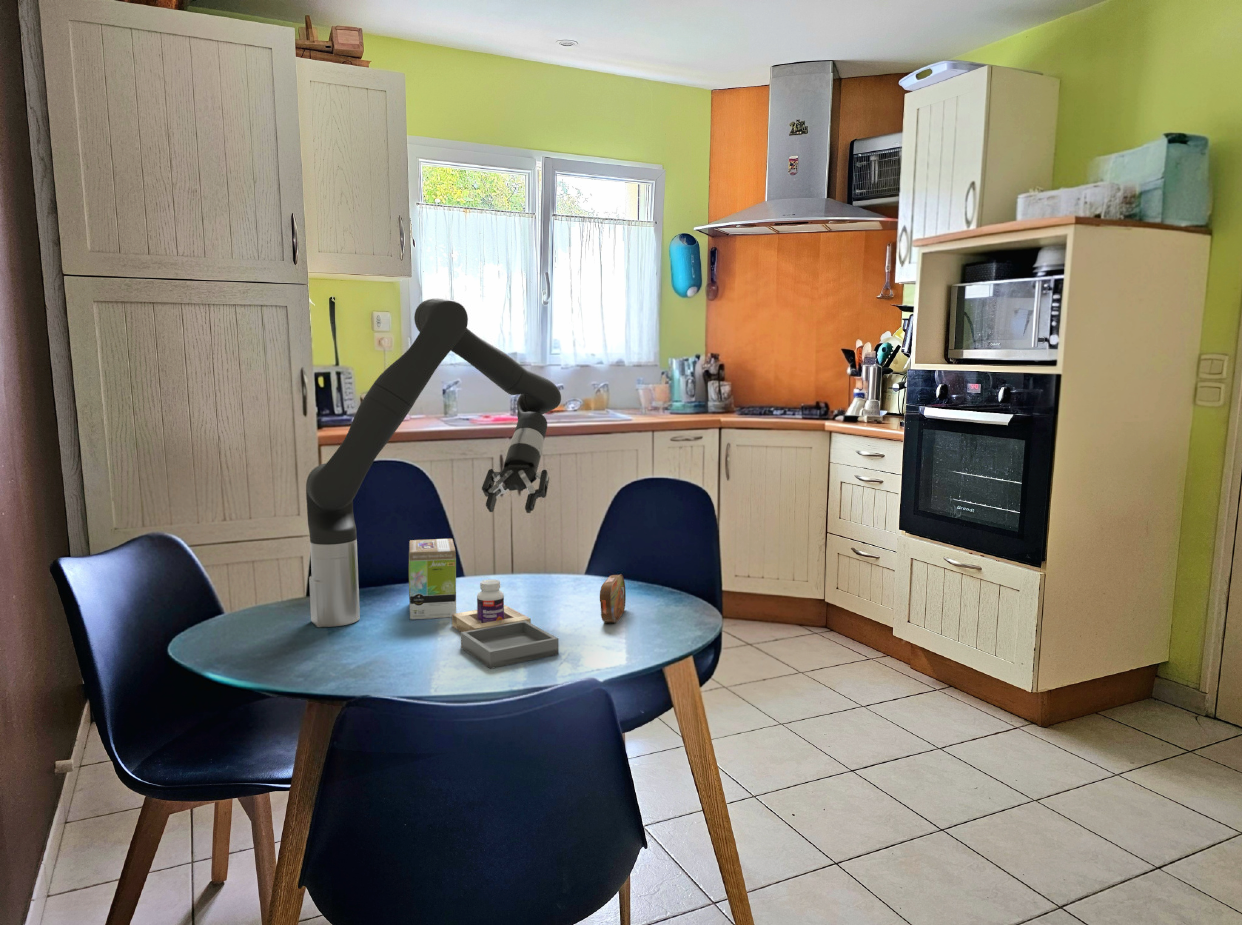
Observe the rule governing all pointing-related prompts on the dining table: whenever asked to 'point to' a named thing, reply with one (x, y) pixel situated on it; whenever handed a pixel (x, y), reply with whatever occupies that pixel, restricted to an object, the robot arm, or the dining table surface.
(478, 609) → the pill bottle
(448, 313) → the robot arm
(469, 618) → the oak collar
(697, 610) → the dining table surface
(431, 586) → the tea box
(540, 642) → the charcoal tray
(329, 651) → the dining table surface
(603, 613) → the tin
